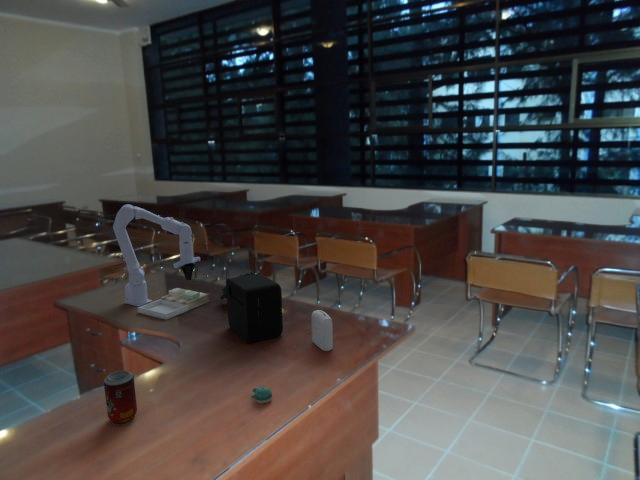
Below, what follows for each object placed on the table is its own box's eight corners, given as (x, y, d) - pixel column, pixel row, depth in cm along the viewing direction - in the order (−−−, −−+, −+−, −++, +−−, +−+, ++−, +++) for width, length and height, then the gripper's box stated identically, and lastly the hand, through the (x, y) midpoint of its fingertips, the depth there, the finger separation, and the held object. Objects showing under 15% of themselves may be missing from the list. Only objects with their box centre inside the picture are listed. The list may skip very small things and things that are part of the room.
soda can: (103, 420, 120) (98, 376, 118) (129, 408, 126) (124, 366, 123) (116, 430, 116) (111, 385, 114) (143, 417, 121) (138, 374, 119)
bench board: (161, 304, 207) (161, 297, 206) (183, 296, 218) (183, 289, 217) (187, 310, 199) (187, 302, 198) (209, 301, 210) (208, 294, 209)
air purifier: (286, 336, 171) (284, 284, 167) (248, 345, 163) (246, 291, 159) (263, 319, 188) (261, 271, 184) (228, 327, 180) (225, 277, 176)
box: (138, 313, 197) (137, 307, 196) (161, 304, 207) (160, 299, 207) (166, 320, 189) (166, 314, 188) (188, 310, 199) (188, 305, 198)
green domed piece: (256, 407, 125) (255, 394, 125) (247, 395, 132) (246, 382, 131) (276, 401, 128) (275, 389, 127) (266, 389, 134) (266, 377, 134)
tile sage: (183, 298, 204) (182, 293, 204) (191, 294, 208) (191, 290, 208) (191, 300, 202) (191, 295, 201) (199, 296, 206) (199, 292, 205)
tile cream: (168, 295, 209) (168, 290, 208) (177, 292, 213) (177, 287, 212) (176, 296, 206) (176, 292, 206) (185, 293, 210) (184, 289, 210)
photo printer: (310, 341, 166) (309, 308, 164) (321, 339, 168) (320, 306, 165) (323, 352, 157) (322, 317, 155) (334, 350, 159) (334, 315, 156)
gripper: (180, 255, 204) (183, 285, 207) (204, 248, 216) (206, 276, 219) (169, 253, 207) (171, 282, 210) (193, 247, 220) (195, 274, 222)
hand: (188, 279), depth 215 cm, fingers closed
